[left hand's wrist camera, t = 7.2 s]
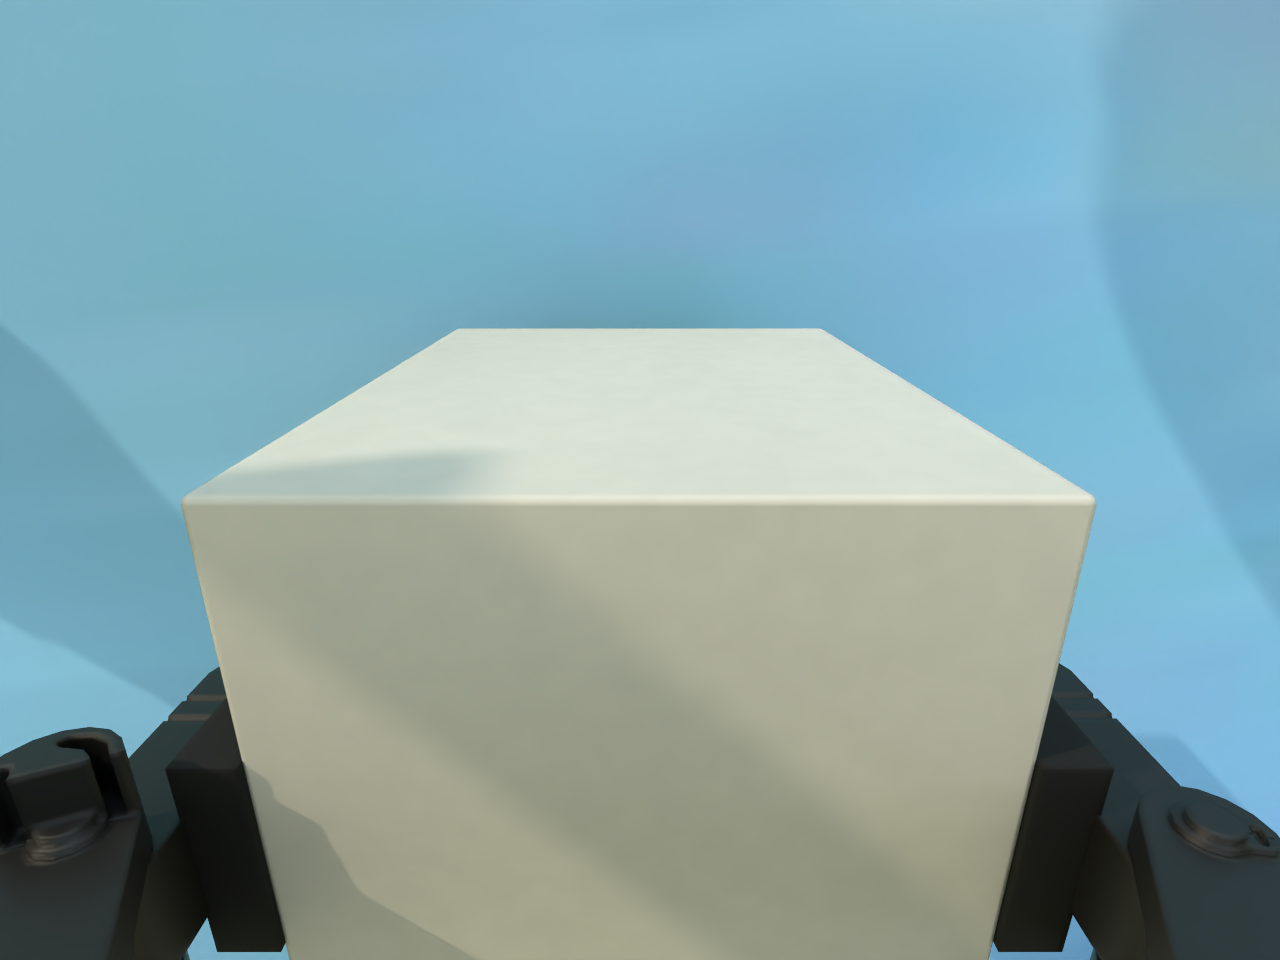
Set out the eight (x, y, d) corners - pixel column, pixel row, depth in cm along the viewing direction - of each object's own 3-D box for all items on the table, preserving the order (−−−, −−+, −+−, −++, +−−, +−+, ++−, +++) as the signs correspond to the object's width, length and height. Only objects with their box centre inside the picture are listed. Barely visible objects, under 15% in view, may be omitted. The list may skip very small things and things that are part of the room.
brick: (823, 328, 17) (1103, 496, 7) (795, 650, 20) (957, 1104, 10) (455, 328, 17) (174, 497, 7) (483, 650, 20) (321, 1104, 10)
